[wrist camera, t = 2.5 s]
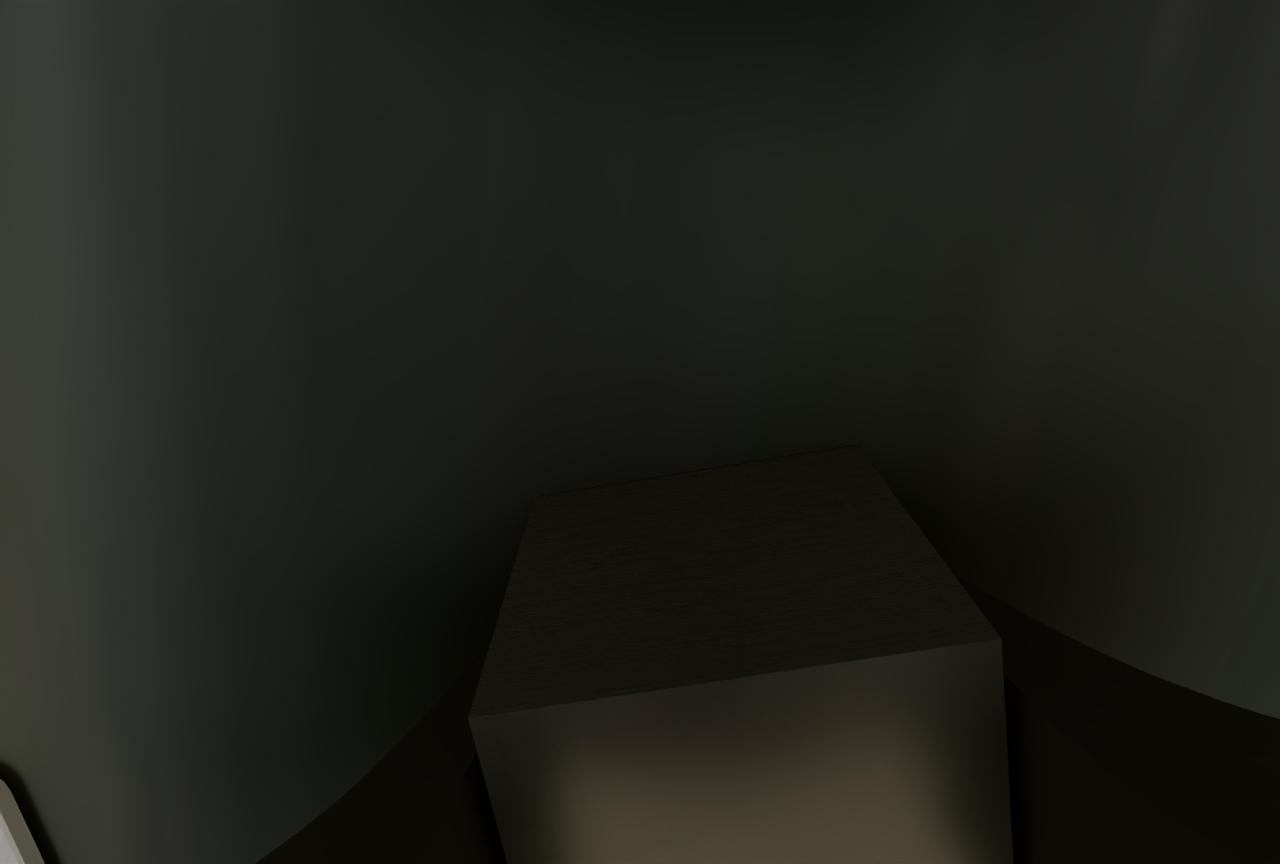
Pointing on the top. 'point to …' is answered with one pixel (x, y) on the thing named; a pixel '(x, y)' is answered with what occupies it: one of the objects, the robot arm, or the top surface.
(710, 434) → the top surface
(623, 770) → the steel block
